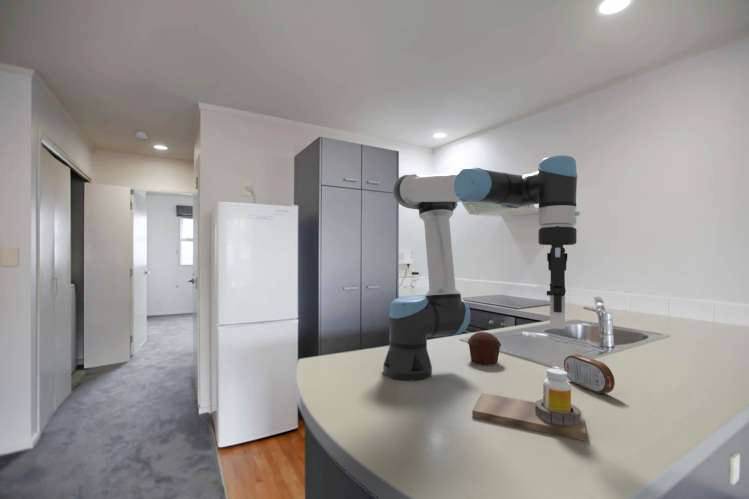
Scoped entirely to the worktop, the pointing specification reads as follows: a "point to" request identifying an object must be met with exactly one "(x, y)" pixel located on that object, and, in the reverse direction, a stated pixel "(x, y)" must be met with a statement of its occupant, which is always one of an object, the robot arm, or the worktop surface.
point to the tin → (589, 373)
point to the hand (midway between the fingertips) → (556, 323)
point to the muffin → (484, 348)
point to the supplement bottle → (557, 391)
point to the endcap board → (530, 416)
